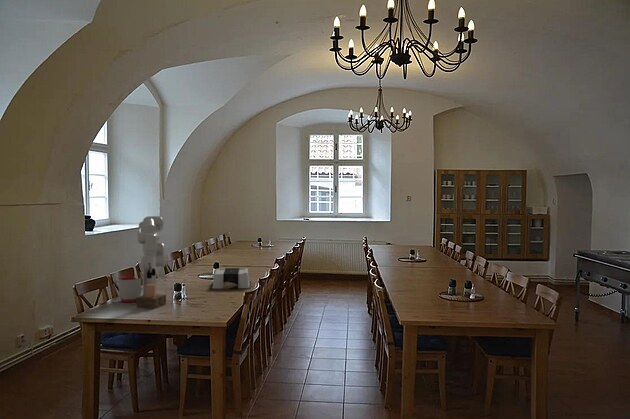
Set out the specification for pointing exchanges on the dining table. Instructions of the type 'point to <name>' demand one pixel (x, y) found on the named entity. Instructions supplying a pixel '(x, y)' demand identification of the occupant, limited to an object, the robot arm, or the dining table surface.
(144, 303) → the walnut block
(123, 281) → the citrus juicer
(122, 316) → the dining table surface
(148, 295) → the terracotta block
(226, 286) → the grey black bridge block
